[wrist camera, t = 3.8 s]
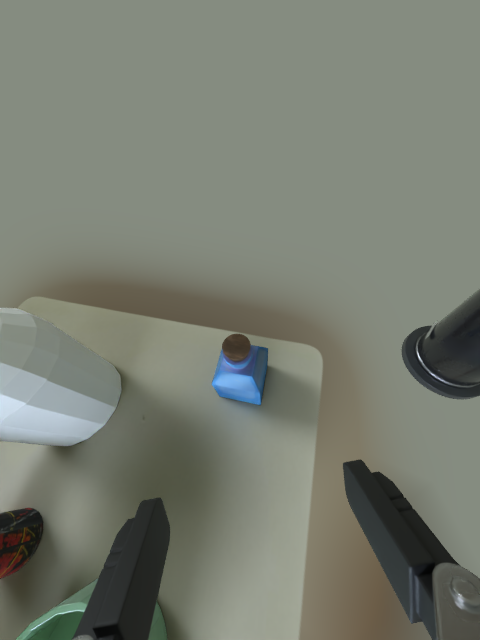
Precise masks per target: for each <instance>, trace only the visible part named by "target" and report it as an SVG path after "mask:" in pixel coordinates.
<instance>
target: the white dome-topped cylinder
mask: <svg viewBox="0 0 480 640" xmlns="http://www.w3.org/2000/svg"><path fill="white" fill-rule="evenodd" d="M121 391H122V388H121V377H120V374H119V373H118V371H117V370H116V368H115V367H114V365H112V364H111V363H109V362H108V361H106V360H105V359H103V358H102V357H100V356H99V355H97V354H96V353H94V352H93V351H91V350H90V349H88V348H87V347H85V346H84V345H82V344H81V343H79V342H78V341H76V340H75V339H73V338H72V337H70V336H69V335H67V334H66V333H64V332H63V331H61V330H60V329H58V328H57V327H55V326H54V325H53V323H51V322H49V321H47V320H44V319H42V318H40V317H38V316H35V315H33V314H30V313H28V312H25V311H23V310H20V309H18V308H0V441H7V442H18V443H28V444H39V445H50V446H72V445H74V444H77V443H79V442H82V441H84V440H87V439H89V438H90V437H91V436H92V435H93V434H95V433H96V432H97V431H98V430H99V429H101V428H102V427H103V426H104V425H105V424H106V423H107V421H108V420H109V418H110V417H111V415H112V414H113V412H114V411H115V409H116V408H117V405H118V401H119V398H120V395H121Z"/></svg>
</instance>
